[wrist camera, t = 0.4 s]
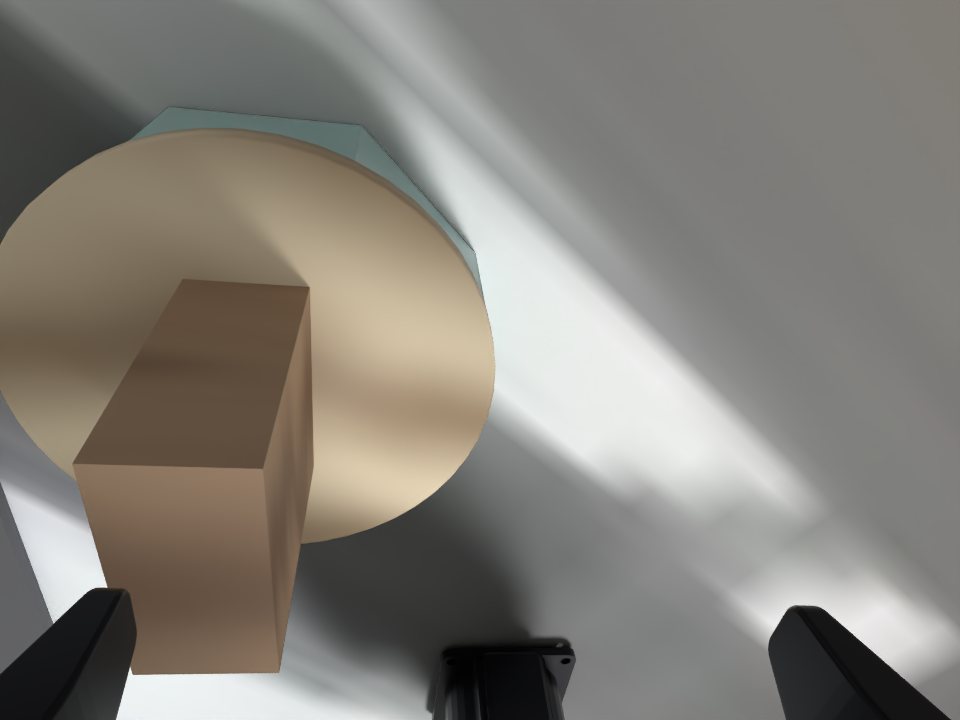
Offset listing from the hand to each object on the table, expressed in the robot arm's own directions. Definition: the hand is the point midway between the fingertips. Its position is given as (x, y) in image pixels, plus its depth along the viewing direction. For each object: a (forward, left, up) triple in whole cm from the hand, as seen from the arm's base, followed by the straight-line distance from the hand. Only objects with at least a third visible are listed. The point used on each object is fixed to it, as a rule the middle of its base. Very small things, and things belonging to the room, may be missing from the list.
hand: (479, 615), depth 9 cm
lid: (-3, +5, -10) cm, 12 cm away
